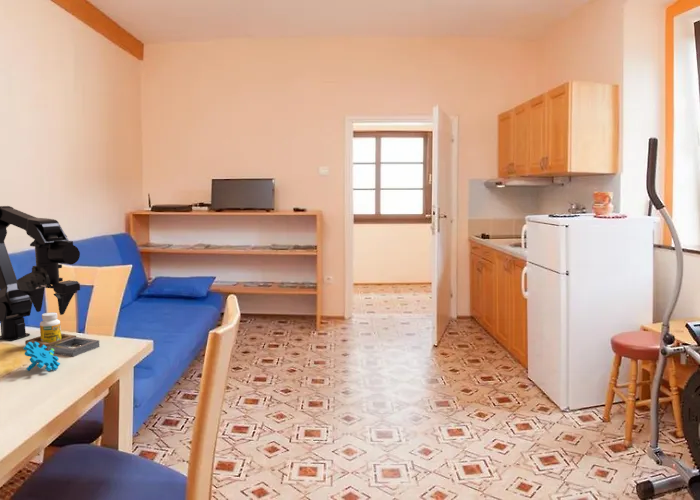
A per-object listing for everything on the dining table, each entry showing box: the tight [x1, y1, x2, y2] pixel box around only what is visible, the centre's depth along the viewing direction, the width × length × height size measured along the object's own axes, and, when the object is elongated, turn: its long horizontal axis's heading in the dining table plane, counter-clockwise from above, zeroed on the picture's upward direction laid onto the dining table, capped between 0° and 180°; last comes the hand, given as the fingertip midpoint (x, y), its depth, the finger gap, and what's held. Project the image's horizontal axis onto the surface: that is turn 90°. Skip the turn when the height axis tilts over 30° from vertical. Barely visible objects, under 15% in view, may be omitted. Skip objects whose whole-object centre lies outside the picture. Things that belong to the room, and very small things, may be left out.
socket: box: [48, 336, 100, 358], centre depth 146 cm, size 9×9×2 cm
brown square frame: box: [24, 333, 77, 351], centre depth 150 cm, size 9×9×2 cm
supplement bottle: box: [39, 312, 62, 343], centre depth 150 cm, size 5×5×10 cm
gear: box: [22, 342, 61, 372], centre depth 130 cm, size 11×6×10 cm
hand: (50, 313), depth 149 cm, fingers open, 9 cm apart
